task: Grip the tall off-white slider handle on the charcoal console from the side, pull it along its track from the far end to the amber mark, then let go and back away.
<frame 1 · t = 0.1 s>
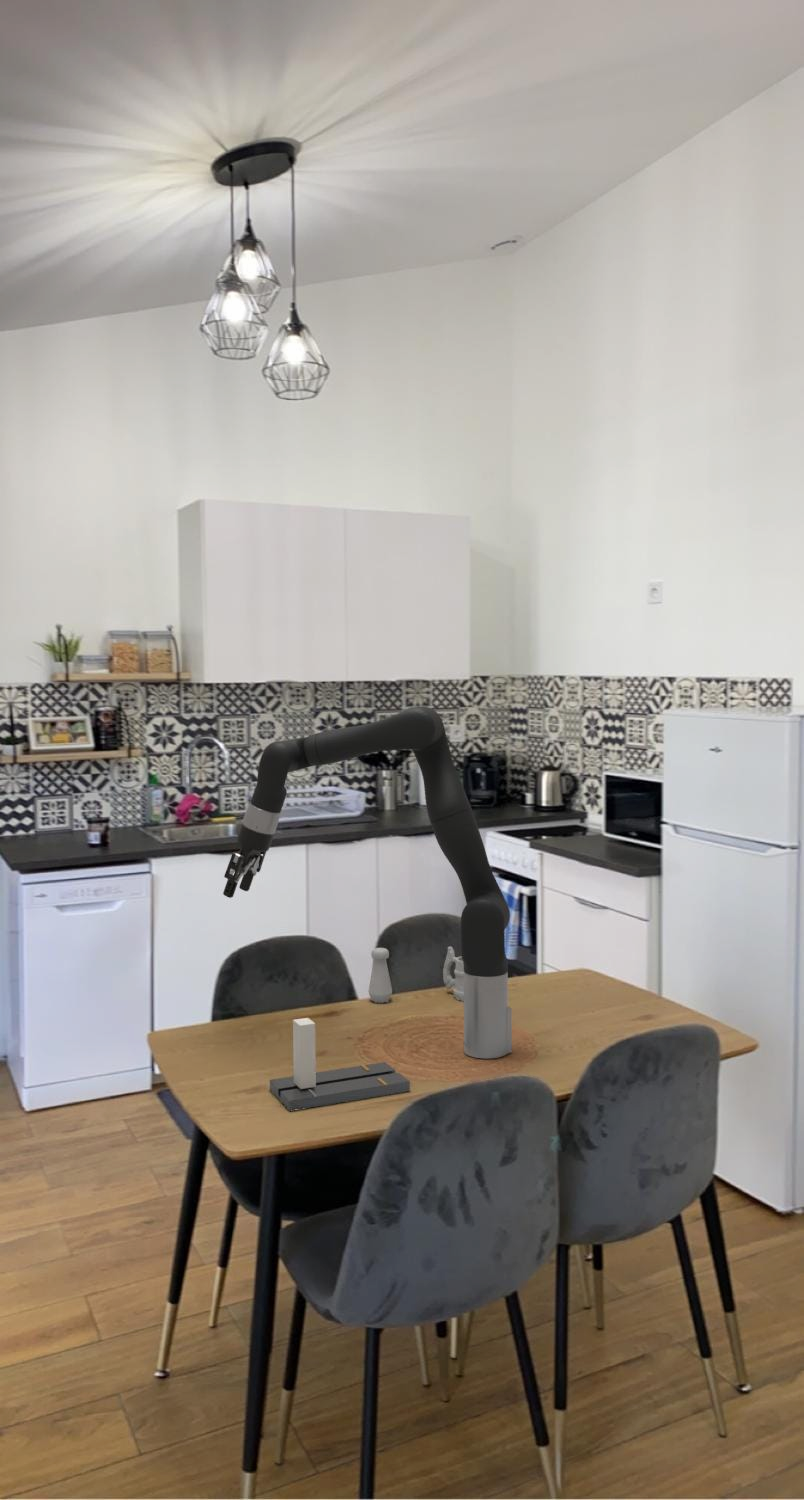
hand: (235, 893, 248), 31 cm above the table, tool tilted 20°, fingers open, 8 cm apart
mixer console: (339, 1090, 212), on the table
salt shaker: (380, 1001, 273), on the table
mug: (462, 997, 277), on the table
slider handle: (304, 1055, 209), point 8 cm above the table, slide at 7.0 cm
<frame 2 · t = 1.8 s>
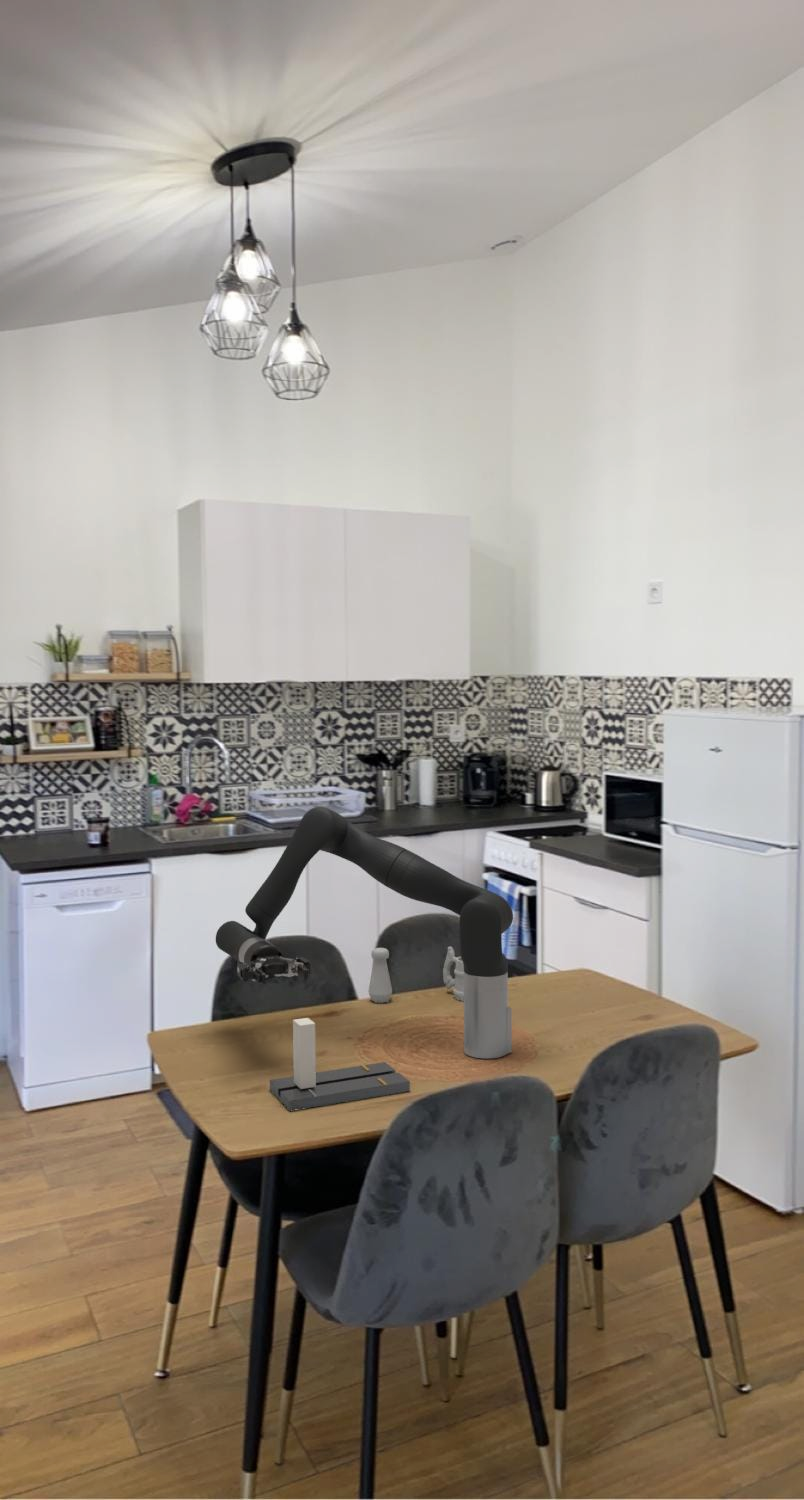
hand: (285, 977, 218), 20 cm above the table, tool horizontal, fingers open, 8 cm apart
nothing on the table moved.
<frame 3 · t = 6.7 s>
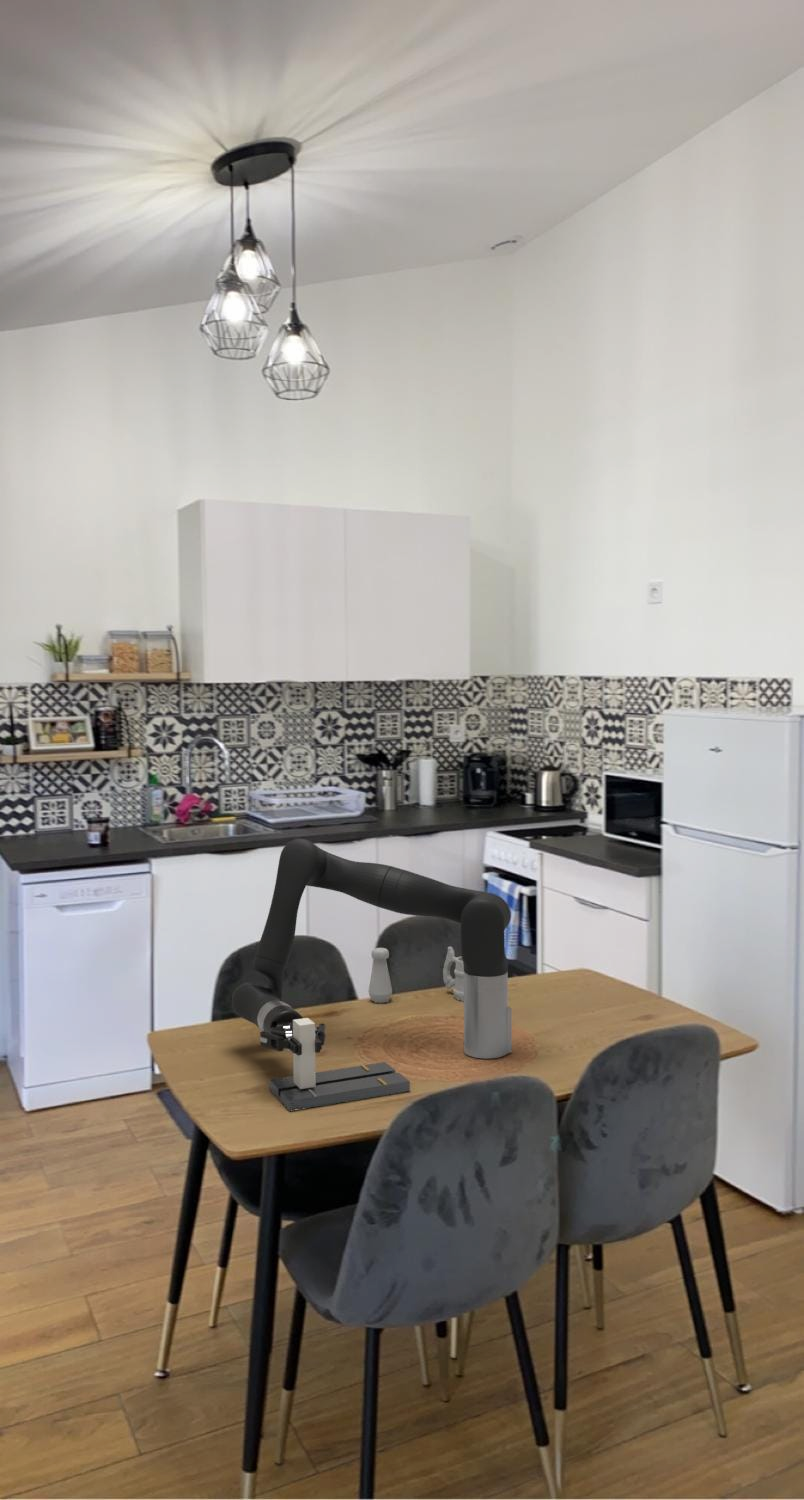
hand: (309, 1048, 206), 10 cm above the table, tool horizontal, fingers closed on slider handle, 3 cm apart
slider handle: (304, 1055, 209), point 8 cm above the table, slide at 7.0 cm, touching gripper
everything else where it was.
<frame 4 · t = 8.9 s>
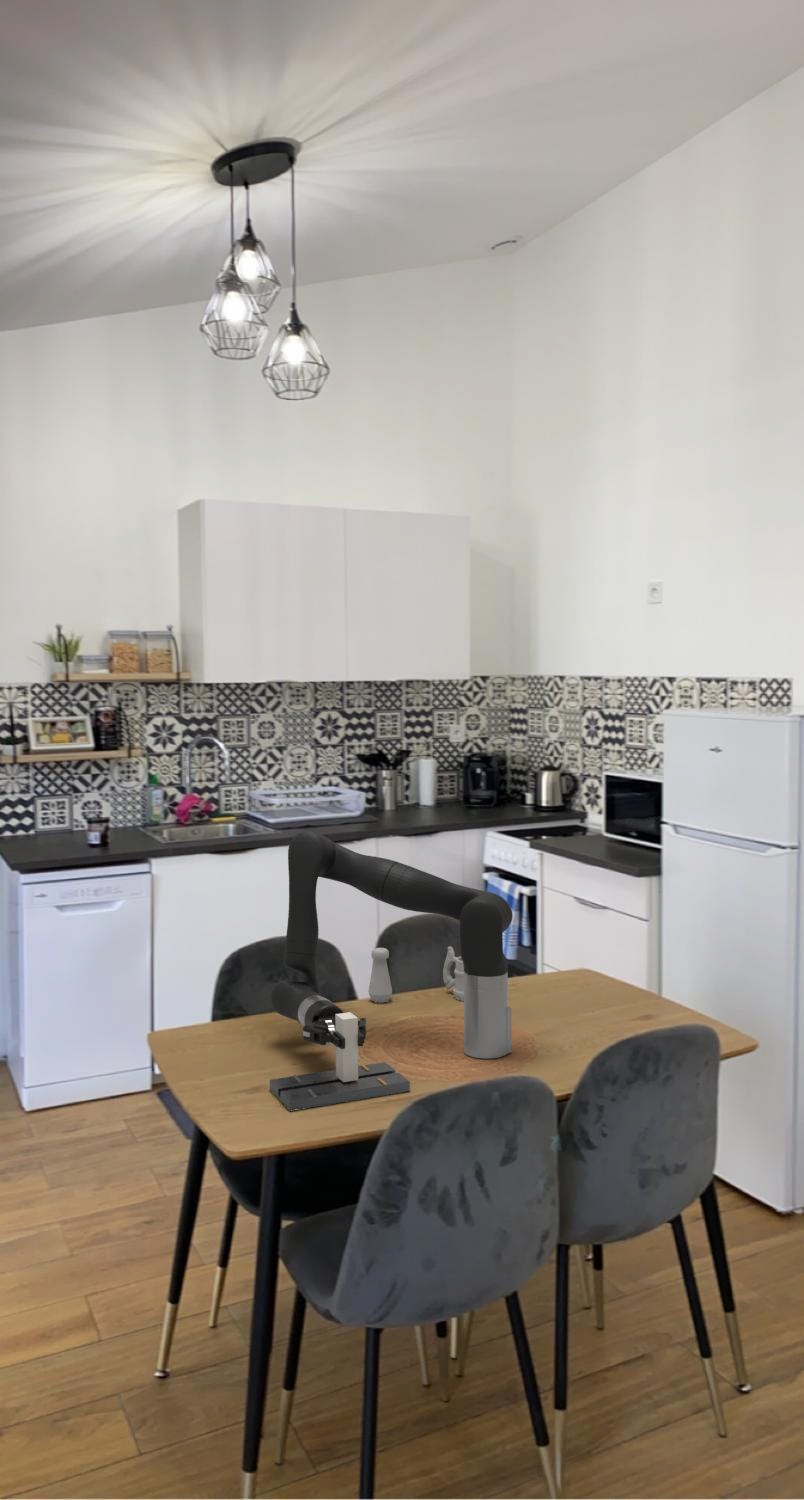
hand: (352, 1042, 210), 10 cm above the table, tool horizontal, fingers closed on slider handle, 3 cm apart
slider handle: (346, 1049, 212), point 8 cm above the table, slide at -1.6 cm, touching gripper
everything else where it was.
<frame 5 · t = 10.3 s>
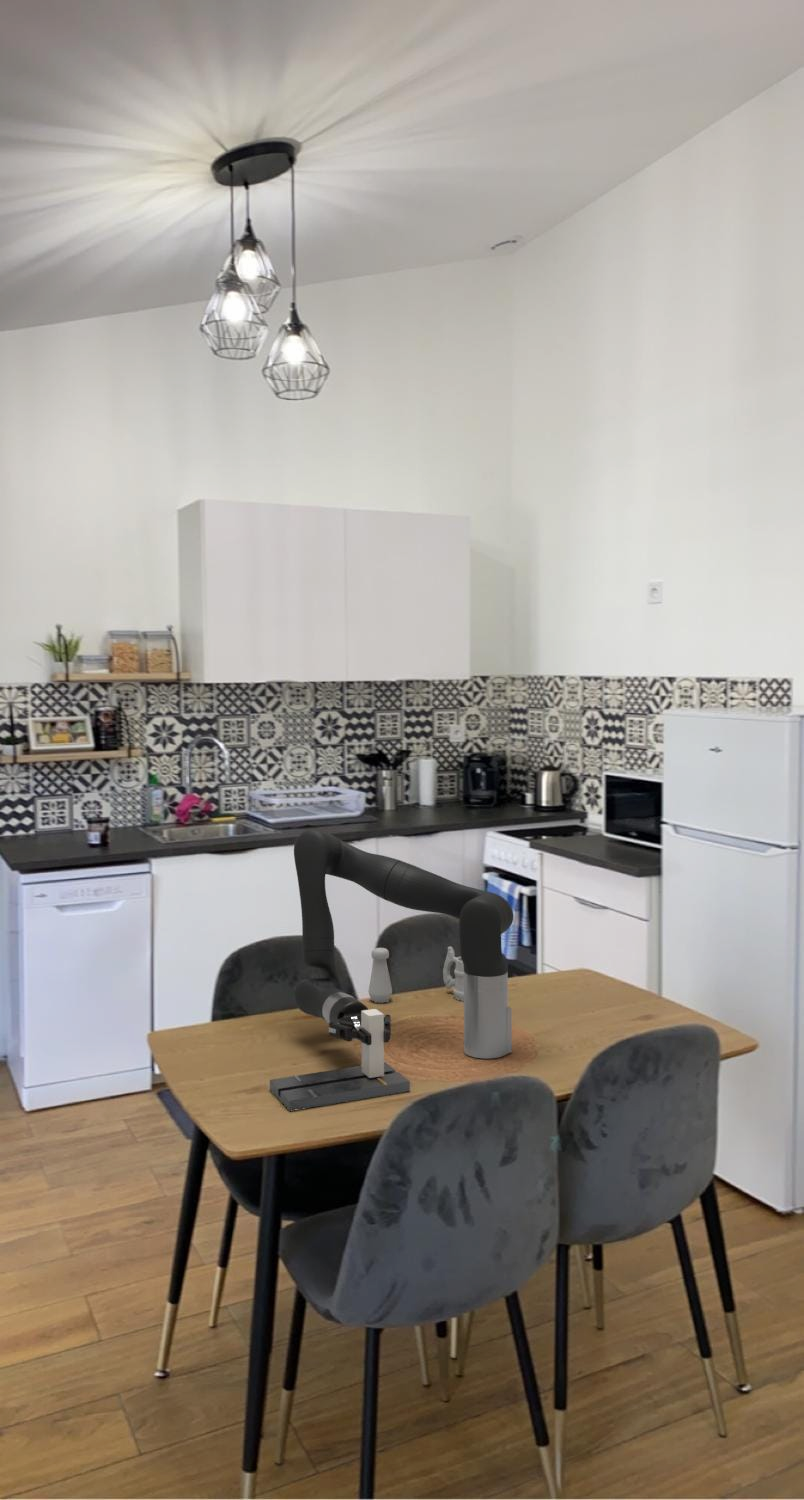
hand: (378, 1038, 212), 10 cm above the table, tool horizontal, fingers closed on slider handle, 3 cm apart
slider handle: (372, 1045, 215), point 8 cm above the table, slide at -6.9 cm, touching gripper
everything else where it was.
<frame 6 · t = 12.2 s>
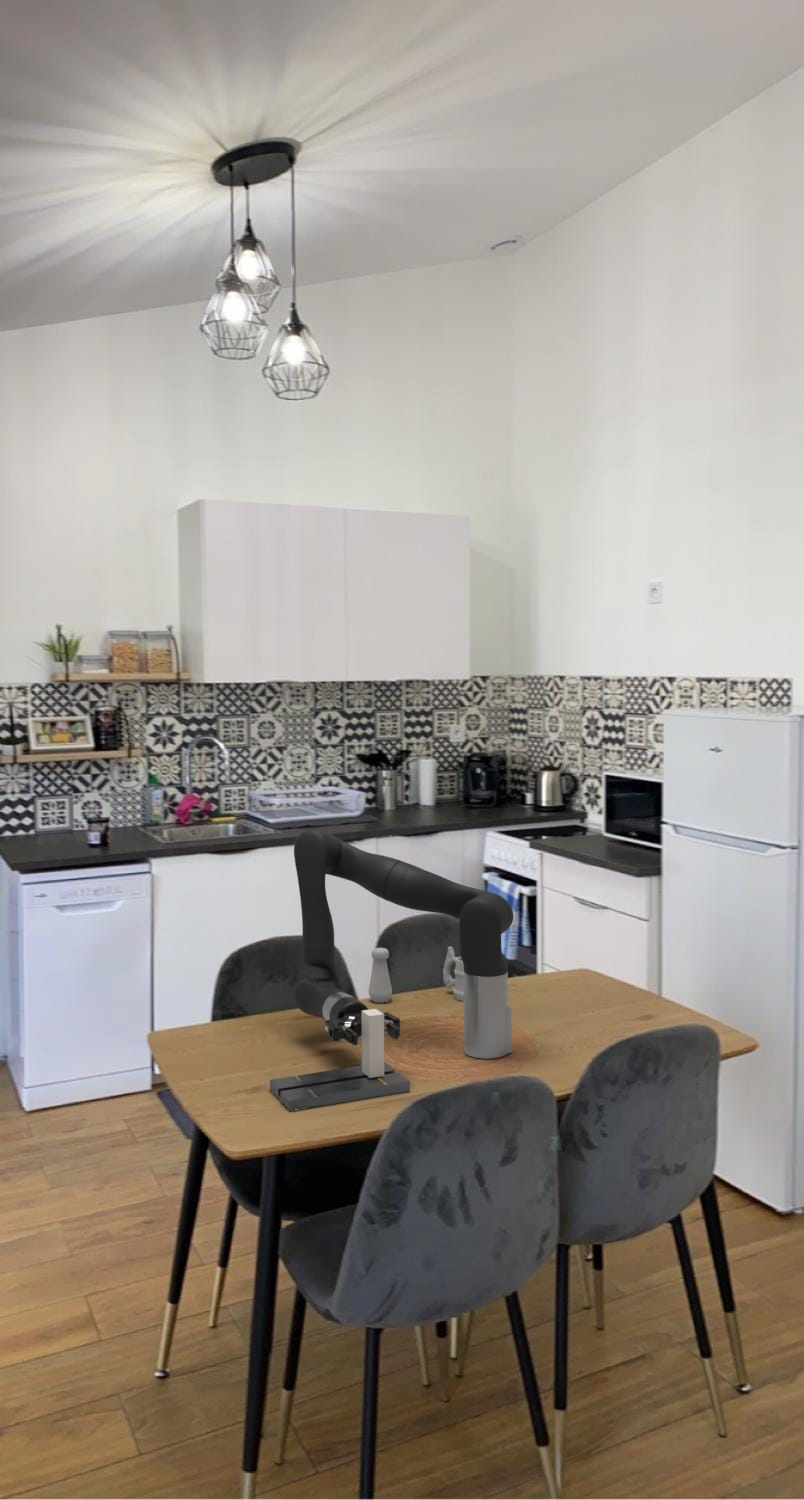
hand: (376, 1037, 213), 10 cm above the table, tool horizontal, fingers open, 8 cm apart
slider handle: (372, 1045, 215), point 8 cm above the table, slide at -6.9 cm
everything else where it was.
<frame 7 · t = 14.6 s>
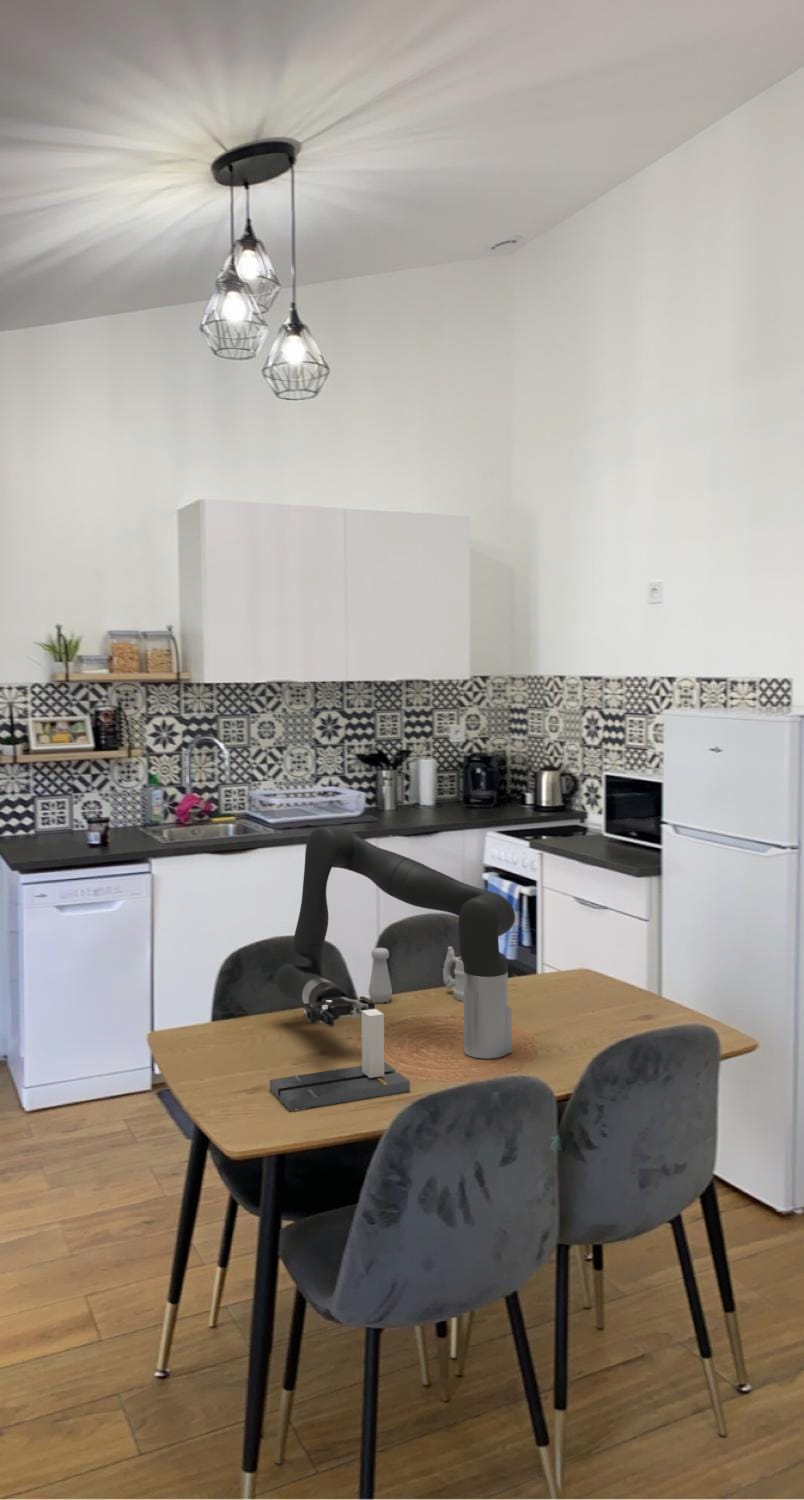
hand: (351, 1019, 225), 10 cm above the table, tool horizontal, fingers open, 8 cm apart
nothing on the table moved.
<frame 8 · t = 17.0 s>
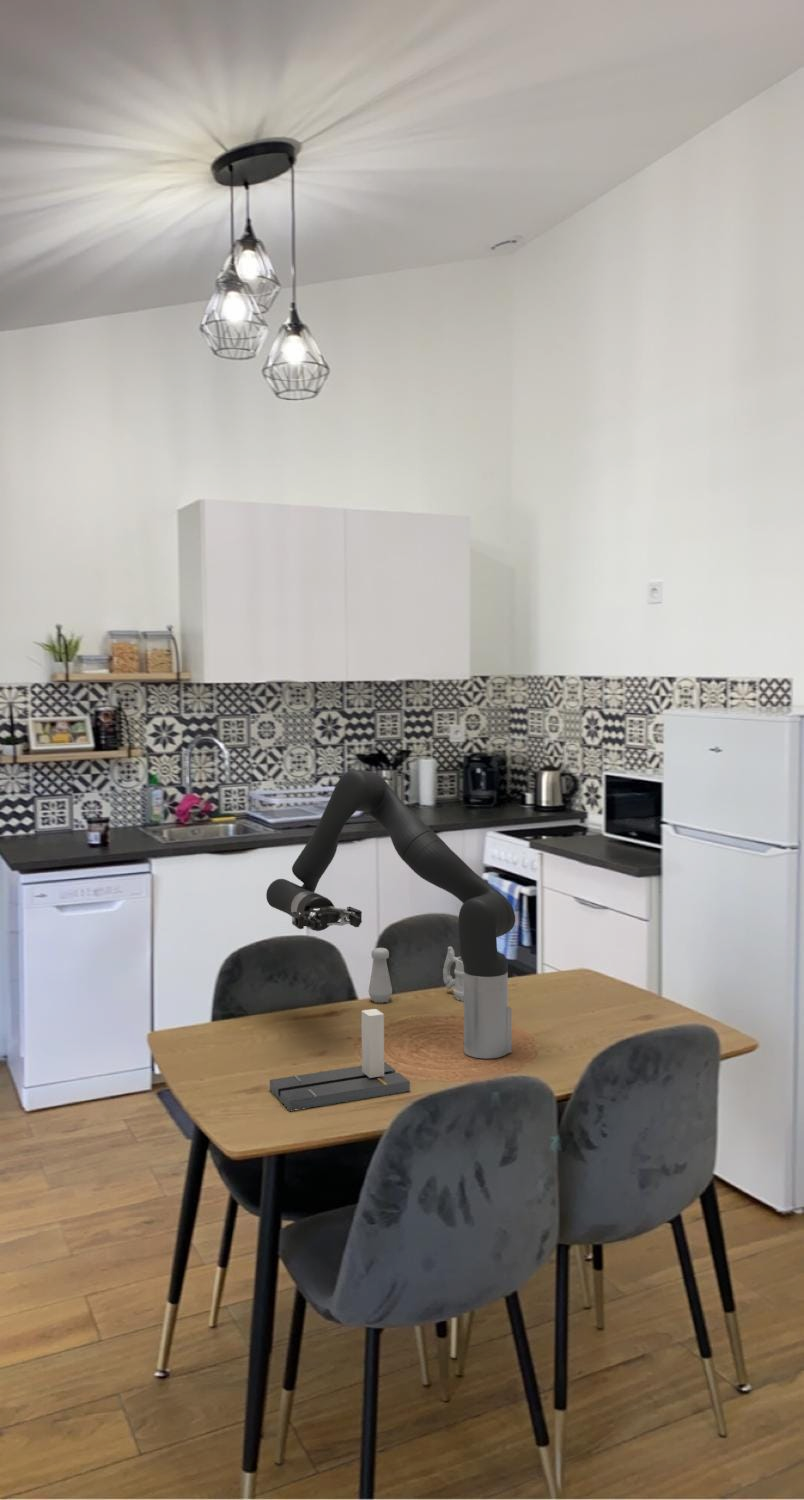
hand: (338, 924, 230), 28 cm above the table, tool horizontal, fingers open, 8 cm apart
nothing on the table moved.
at the end: slider handle slide at -6.9 cm; the gripper is holding nothing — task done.
